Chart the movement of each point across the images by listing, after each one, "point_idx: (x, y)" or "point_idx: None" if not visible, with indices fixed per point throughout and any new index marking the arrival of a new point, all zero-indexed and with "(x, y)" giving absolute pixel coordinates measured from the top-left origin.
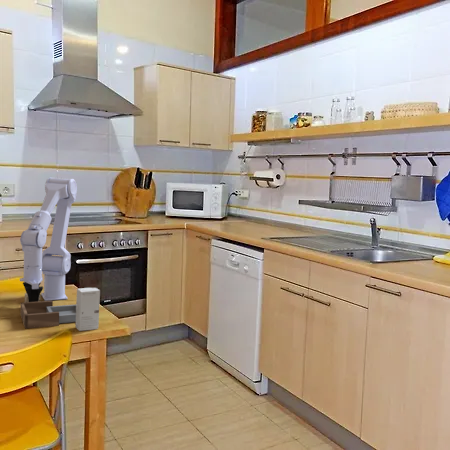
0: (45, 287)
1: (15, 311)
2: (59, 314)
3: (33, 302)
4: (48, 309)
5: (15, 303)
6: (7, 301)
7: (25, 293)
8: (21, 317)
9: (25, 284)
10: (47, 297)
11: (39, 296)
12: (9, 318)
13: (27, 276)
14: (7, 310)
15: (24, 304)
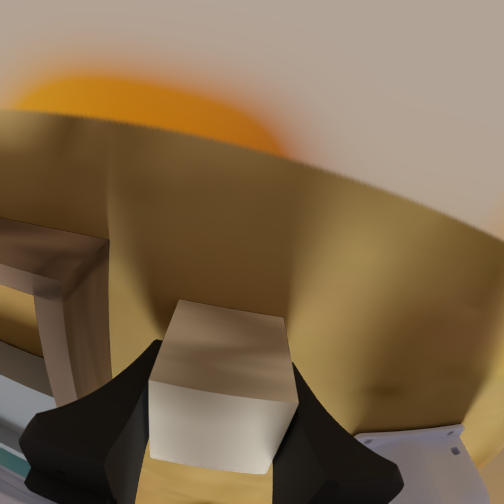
0: (407, 486)
1: (214, 230)
2: (26, 398)
3: (53, 367)
4: (15, 383)
5: (424, 288)
6: (487, 254)
7: (292, 406)
8: (41, 227)
9: (316, 491)
10: (374, 450)
11: (150, 449)
12: (57, 148)
13: None
14: (276, 180)
15: (38, 297)
